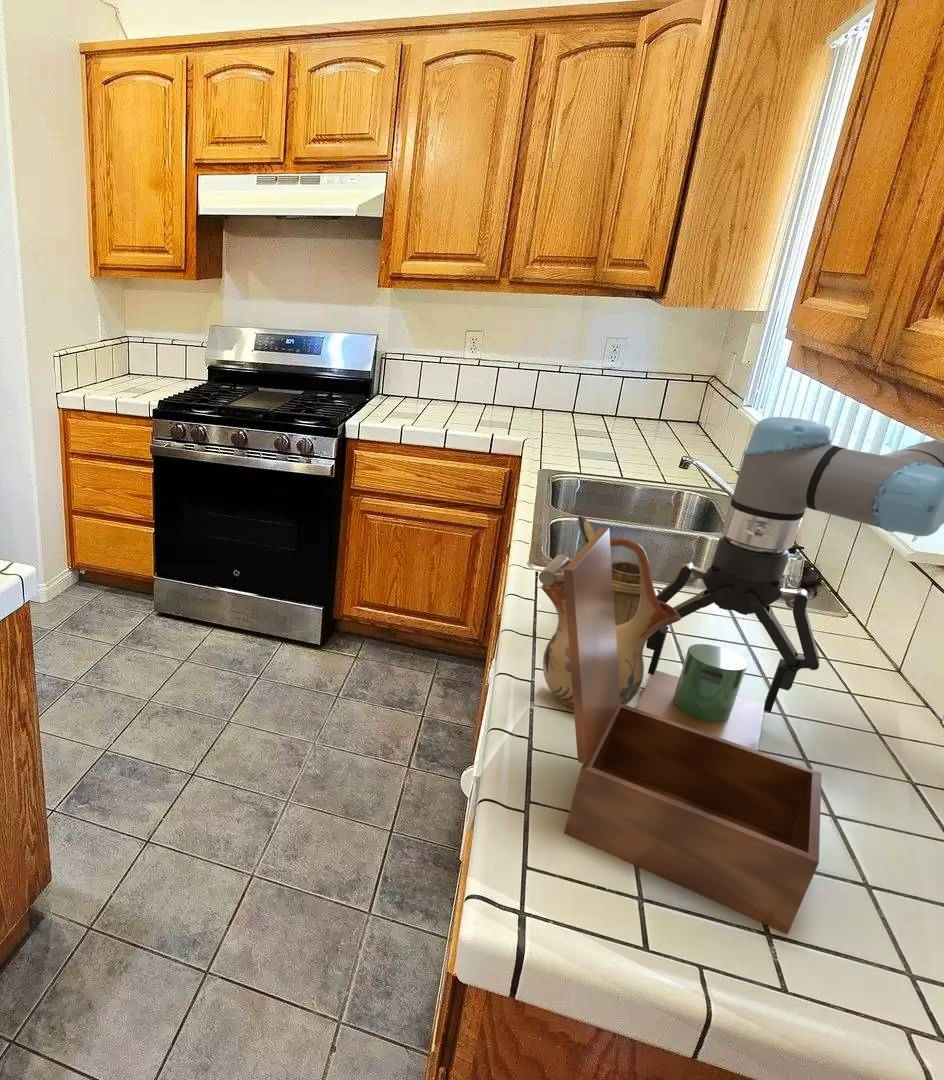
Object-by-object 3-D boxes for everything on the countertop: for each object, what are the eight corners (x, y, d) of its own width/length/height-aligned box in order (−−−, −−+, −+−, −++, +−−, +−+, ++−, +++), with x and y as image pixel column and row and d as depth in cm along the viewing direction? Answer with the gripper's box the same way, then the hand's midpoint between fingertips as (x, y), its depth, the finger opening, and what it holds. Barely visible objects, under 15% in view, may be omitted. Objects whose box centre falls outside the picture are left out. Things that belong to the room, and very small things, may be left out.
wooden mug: (562, 604, 133) (584, 508, 126) (647, 627, 126) (675, 527, 119) (549, 622, 126) (572, 522, 120) (639, 648, 119) (668, 543, 113)
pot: (733, 701, 105) (750, 651, 102) (725, 733, 98) (744, 680, 95) (678, 683, 109) (693, 635, 106) (667, 713, 101) (683, 661, 98)
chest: (792, 843, 81) (821, 772, 77) (785, 940, 69) (819, 862, 65) (597, 765, 91) (615, 700, 88) (562, 838, 80) (581, 767, 76)
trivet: (763, 708, 105) (765, 704, 104) (756, 757, 94) (757, 753, 94) (652, 672, 112) (653, 669, 112) (633, 714, 102) (634, 710, 102)
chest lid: (609, 527, 83) (564, 527, 86) (572, 570, 71) (522, 568, 74) (620, 697, 87) (577, 692, 90) (586, 764, 76) (538, 755, 79)
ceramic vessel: (649, 709, 103) (699, 540, 94) (647, 744, 96) (701, 564, 86) (524, 674, 110) (559, 514, 101) (513, 704, 103) (550, 534, 94)
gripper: (639, 526, 98) (602, 666, 106) (884, 580, 84) (820, 737, 92) (650, 512, 104) (614, 646, 112) (881, 560, 90) (821, 710, 98)
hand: (707, 688), depth 102 cm, fingers open, 13 cm apart
